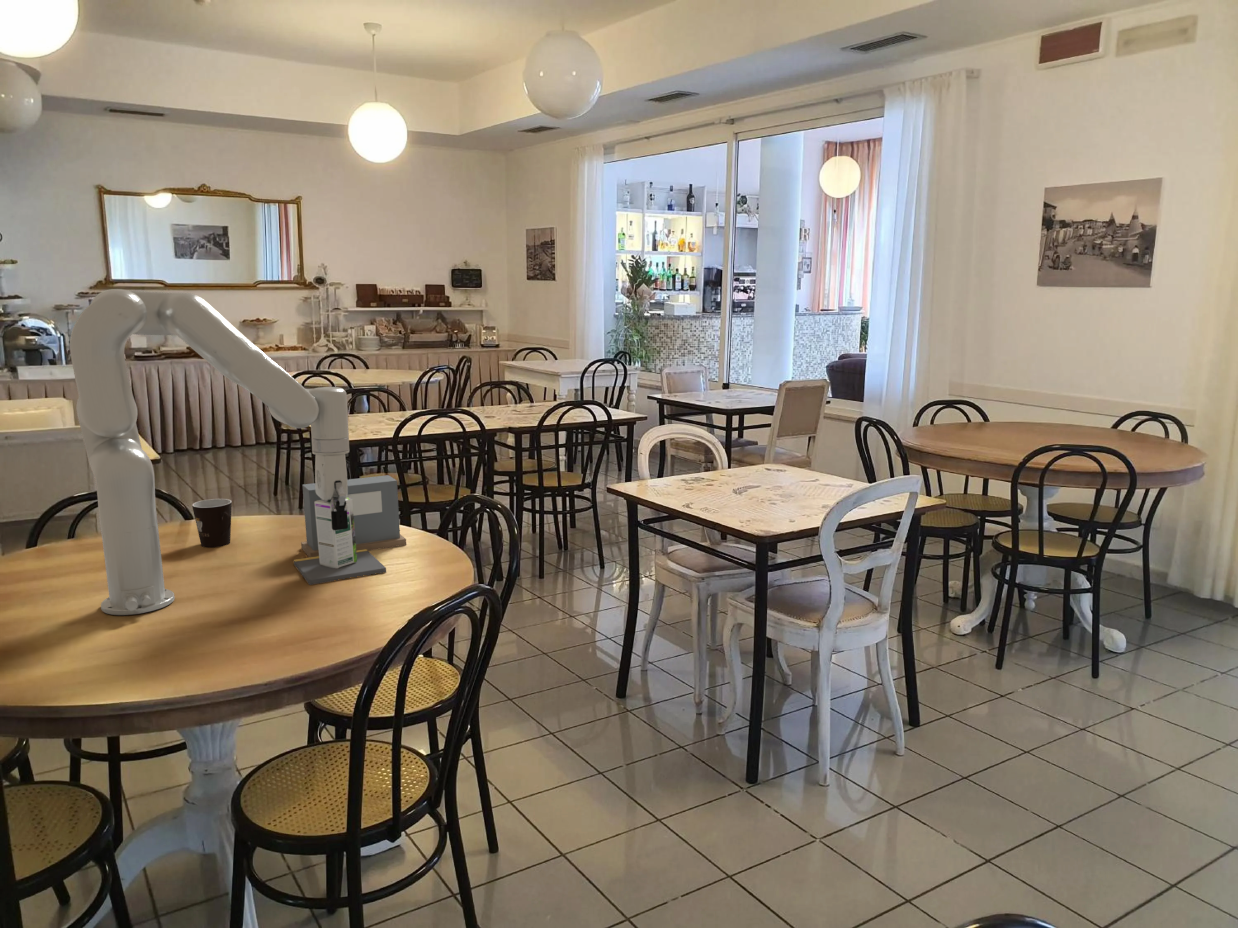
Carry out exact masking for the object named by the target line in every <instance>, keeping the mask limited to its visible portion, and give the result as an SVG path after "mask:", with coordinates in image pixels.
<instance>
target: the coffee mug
mask: <svg viewBox="0 0 1238 928" xmlns="http://www.w3.org/2000/svg"><path fill="white" fill-rule="evenodd" d="M232 502H233V501H232V500H231V499H229V498H212V499H204V500H199V501H196V502H193V503H192V512H193V515H194V520H195V521H194V522H195V523H196V524H195V525H196V528H197V532H198V533H197V534H198V537H199V540H200V546H201V547H203V548H213V549H214V548H220V547H224V546H227V545H229V544H230V543H231V531H232V505H233V504H232Z"/></svg>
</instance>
